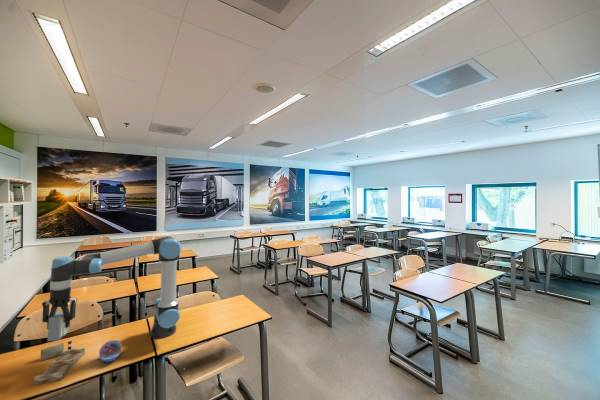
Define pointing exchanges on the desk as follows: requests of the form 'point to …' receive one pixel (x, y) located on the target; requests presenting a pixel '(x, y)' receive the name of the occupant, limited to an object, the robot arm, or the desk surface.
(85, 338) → the desk surface
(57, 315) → the frame block
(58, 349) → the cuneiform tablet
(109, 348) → the cell model
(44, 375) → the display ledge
